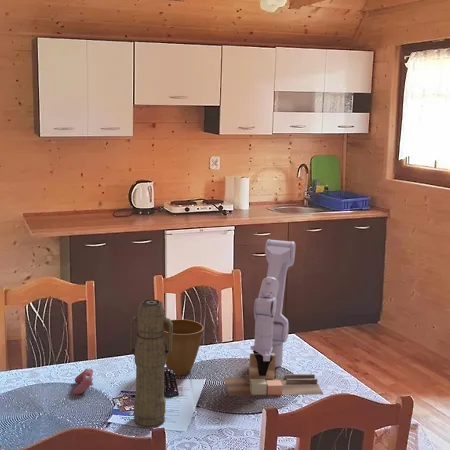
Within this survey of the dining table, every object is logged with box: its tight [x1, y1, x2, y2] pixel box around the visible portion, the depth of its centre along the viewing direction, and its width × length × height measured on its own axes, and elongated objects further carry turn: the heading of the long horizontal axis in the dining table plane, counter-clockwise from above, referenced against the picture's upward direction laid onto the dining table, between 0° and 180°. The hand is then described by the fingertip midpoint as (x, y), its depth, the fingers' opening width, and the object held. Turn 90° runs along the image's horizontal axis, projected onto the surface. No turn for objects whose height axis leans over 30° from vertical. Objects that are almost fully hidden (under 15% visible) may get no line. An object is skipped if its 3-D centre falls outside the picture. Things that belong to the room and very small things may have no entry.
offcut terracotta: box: [266, 380, 283, 396], centre depth 204 cm, size 4×5×3 cm
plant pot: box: [164, 318, 204, 377], centre depth 218 cm, size 15×15×16 cm
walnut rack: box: [223, 373, 324, 397], centre depth 208 cm, size 13×30×2 cm, turn 96°
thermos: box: [129, 298, 173, 429], centre depth 182 cm, size 9×12×35 cm
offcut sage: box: [250, 379, 267, 396], centre depth 203 cm, size 4×5×4 cm
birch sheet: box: [248, 353, 276, 379], centre depth 211 cm, size 2×8×9 cm, turn 96°
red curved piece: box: [72, 368, 94, 395], centre depth 203 cm, size 10×5×7 cm, turn 10°
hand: (261, 373), depth 211 cm, fingers closed on birch sheet, 2 cm apart
